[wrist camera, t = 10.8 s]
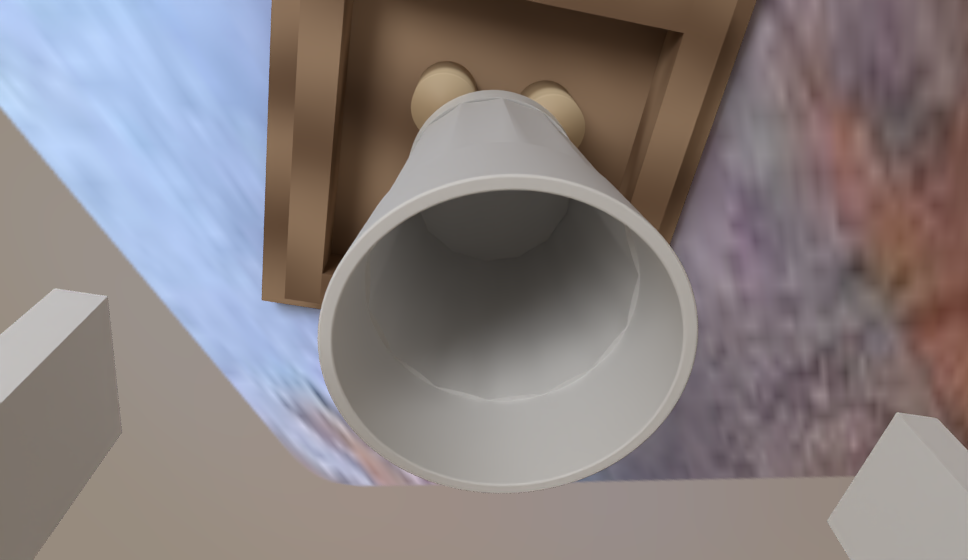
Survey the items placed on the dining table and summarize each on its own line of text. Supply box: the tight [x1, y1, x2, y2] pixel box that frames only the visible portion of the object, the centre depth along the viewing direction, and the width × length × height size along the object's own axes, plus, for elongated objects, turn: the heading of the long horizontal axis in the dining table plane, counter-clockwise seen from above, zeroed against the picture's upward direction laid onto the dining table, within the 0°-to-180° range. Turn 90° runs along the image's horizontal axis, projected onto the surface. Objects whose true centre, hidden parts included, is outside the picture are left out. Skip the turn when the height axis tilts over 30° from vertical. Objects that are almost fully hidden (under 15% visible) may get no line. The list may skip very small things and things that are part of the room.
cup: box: [318, 90, 698, 493], centre depth 19 cm, size 8×8×12 cm
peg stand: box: [262, 0, 757, 309], centre depth 26 cm, size 18×18×4 cm
